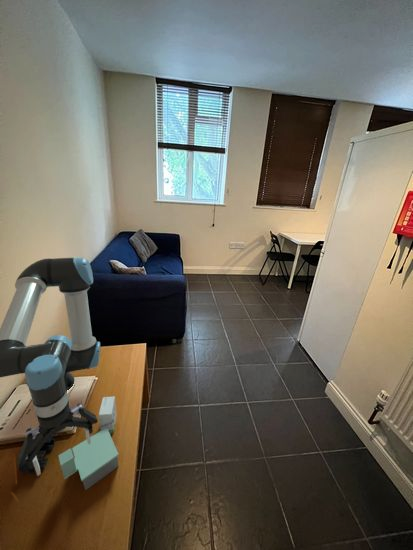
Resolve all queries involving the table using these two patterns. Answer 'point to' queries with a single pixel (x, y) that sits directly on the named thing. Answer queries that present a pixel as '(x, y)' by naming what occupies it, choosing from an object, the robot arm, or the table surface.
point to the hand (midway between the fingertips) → (65, 454)
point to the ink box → (108, 414)
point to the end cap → (39, 454)
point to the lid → (89, 455)
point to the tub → (100, 473)
